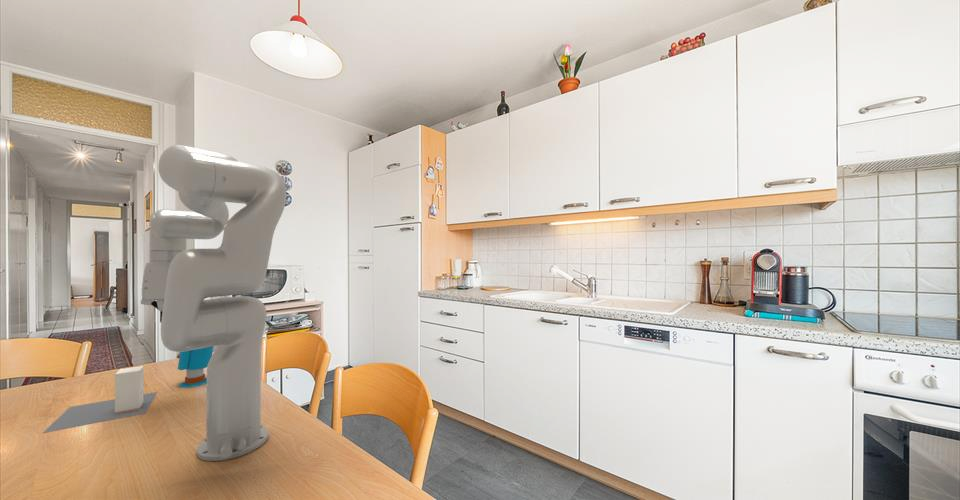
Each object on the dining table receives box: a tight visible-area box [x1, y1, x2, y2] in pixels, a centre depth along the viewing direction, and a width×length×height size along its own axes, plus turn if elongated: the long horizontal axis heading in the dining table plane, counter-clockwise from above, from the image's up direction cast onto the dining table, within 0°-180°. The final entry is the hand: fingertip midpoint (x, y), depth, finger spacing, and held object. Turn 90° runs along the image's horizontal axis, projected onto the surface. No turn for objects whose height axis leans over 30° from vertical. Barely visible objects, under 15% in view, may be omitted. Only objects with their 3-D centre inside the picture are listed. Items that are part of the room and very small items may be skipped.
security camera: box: [176, 346, 214, 388], centre depth 109 cm, size 8×21×10 cm
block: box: [114, 365, 145, 414], centre depth 91 cm, size 4×4×10 cm
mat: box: [42, 391, 158, 434], centre depth 90 cm, size 16×17×1 cm
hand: (167, 324), depth 96 cm, fingers closed
